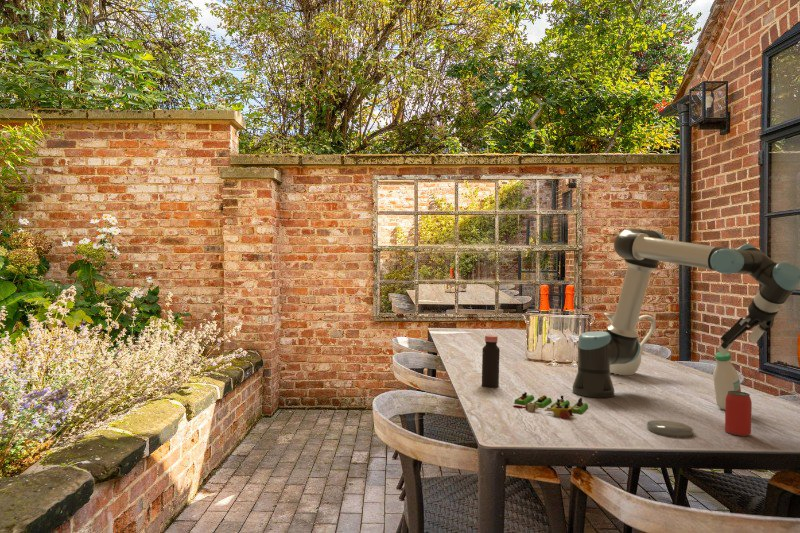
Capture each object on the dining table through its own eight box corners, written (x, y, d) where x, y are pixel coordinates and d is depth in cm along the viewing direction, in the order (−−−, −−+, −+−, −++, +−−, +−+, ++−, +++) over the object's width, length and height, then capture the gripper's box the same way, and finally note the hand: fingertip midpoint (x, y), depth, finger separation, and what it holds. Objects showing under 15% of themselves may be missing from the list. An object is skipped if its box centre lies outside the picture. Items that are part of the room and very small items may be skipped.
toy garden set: (588, 408, 184) (588, 395, 184) (575, 421, 168) (575, 407, 168) (523, 398, 196) (523, 386, 196) (505, 410, 180) (505, 396, 180)
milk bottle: (730, 414, 182) (723, 361, 177) (711, 405, 189) (704, 354, 185) (748, 405, 184) (741, 353, 179) (728, 396, 191) (721, 346, 186)
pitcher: (609, 376, 240) (610, 314, 240) (596, 369, 257) (598, 311, 257) (663, 378, 239) (664, 315, 239) (646, 370, 256) (648, 312, 256)
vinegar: (498, 384, 218) (499, 335, 218) (499, 388, 211) (500, 337, 211) (481, 383, 218) (482, 334, 218) (482, 387, 212) (483, 336, 212)
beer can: (726, 428, 163) (727, 389, 163) (752, 433, 159) (753, 393, 159) (722, 433, 158) (723, 392, 158) (749, 438, 154) (750, 396, 154)
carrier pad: (649, 434, 155) (649, 429, 155) (645, 423, 166) (645, 418, 166) (696, 439, 151) (696, 434, 151) (688, 427, 162) (688, 423, 162)
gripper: (745, 324, 163) (716, 365, 177) (805, 302, 170) (772, 343, 184) (726, 307, 168) (700, 348, 182) (785, 286, 175) (755, 328, 189)
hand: (736, 346), depth 183 cm, fingers open, 13 cm apart
